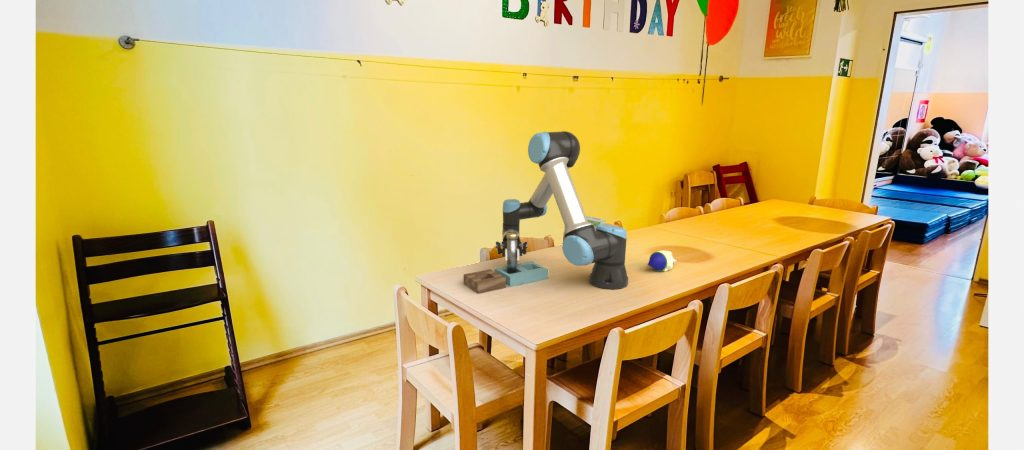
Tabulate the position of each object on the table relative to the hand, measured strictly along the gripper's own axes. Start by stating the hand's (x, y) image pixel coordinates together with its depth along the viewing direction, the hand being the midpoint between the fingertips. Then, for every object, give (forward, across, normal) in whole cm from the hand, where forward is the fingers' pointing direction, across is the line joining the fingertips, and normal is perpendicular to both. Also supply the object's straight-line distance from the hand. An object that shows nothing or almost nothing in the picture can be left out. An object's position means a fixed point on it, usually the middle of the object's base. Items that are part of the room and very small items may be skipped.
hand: (512, 256), depth 192 cm
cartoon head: (-18, -64, -12) cm, 68 cm away
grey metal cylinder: (-5, 0, -10) cm, 11 cm away
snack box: (-54, -37, -12) cm, 66 cm away
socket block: (+1, +11, -12) cm, 16 cm away
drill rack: (-8, -4, -12) cm, 14 cm away
